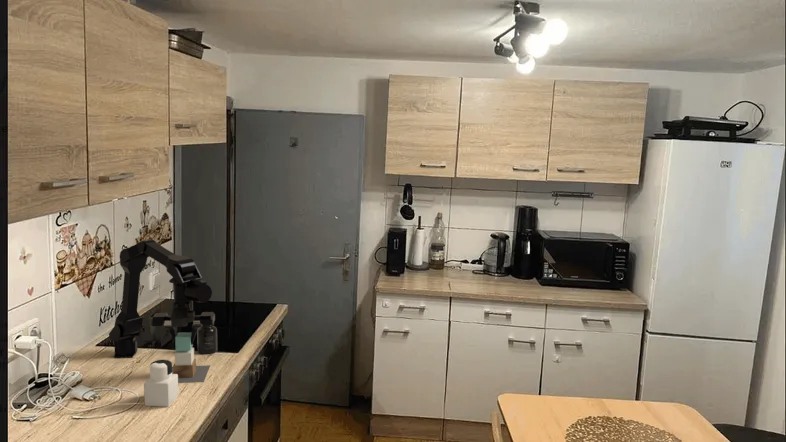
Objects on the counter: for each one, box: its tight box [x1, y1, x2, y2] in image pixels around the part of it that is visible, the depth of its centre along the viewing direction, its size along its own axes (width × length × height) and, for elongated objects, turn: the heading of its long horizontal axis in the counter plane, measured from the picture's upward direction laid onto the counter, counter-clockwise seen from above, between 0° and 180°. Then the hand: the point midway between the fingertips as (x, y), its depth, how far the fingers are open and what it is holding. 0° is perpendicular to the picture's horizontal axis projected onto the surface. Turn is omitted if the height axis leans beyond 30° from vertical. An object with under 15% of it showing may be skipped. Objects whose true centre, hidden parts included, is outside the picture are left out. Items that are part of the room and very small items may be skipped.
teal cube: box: [174, 331, 194, 352], centre depth 187 cm, size 4×4×4 cm
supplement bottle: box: [196, 322, 218, 356], centre depth 209 cm, size 7×7×12 cm
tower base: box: [172, 358, 197, 378], centre depth 188 cm, size 6×6×4 cm
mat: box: [172, 365, 211, 384], centre depth 188 cm, size 14×14×1 cm
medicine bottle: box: [143, 359, 179, 408], centre depth 169 cm, size 7×7×12 cm
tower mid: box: [174, 347, 195, 366], centre depth 188 cm, size 5×5×4 cm
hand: (184, 344), depth 187 cm, fingers closed on teal cube, 4 cm apart
